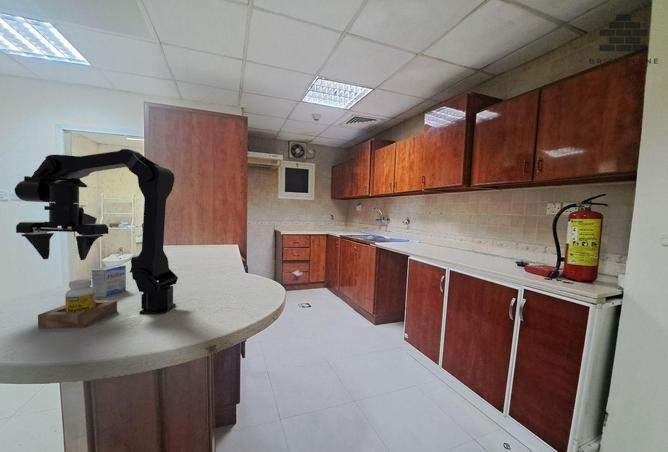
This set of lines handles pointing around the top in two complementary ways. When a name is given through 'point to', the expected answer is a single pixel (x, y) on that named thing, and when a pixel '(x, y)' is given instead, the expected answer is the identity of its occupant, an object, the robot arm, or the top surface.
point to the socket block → (76, 315)
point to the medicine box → (109, 280)
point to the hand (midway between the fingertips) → (64, 259)
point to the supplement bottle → (80, 296)
